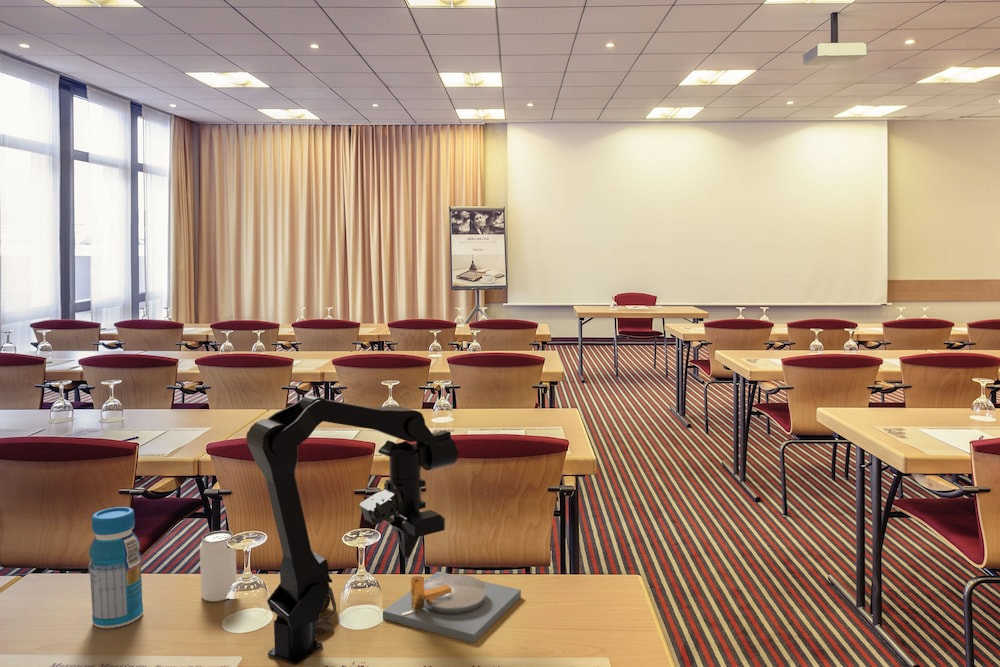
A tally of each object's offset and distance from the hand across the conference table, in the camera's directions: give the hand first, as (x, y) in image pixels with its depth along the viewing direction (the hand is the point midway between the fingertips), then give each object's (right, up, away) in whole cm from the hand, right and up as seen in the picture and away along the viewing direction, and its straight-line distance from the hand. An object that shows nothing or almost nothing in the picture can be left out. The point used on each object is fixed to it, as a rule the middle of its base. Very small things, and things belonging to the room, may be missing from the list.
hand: (406, 556), depth 130 cm
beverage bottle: (-53, -11, -3) cm, 54 cm away
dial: (+8, -8, 0) cm, 11 cm away
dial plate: (+9, -10, +1) cm, 13 cm away
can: (-38, -10, +7) cm, 40 cm away
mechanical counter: (-17, -11, -3) cm, 21 cm away
